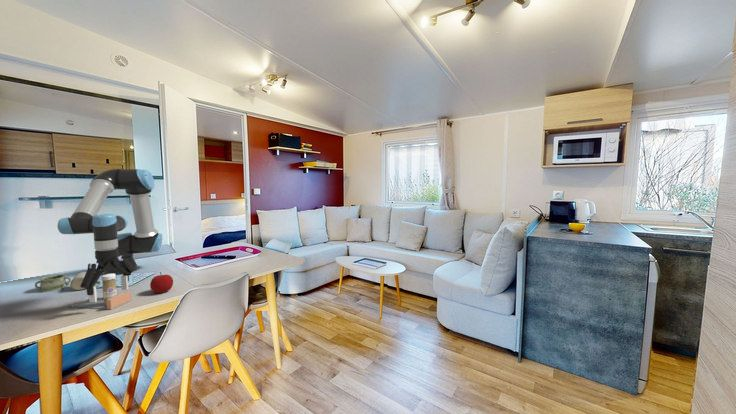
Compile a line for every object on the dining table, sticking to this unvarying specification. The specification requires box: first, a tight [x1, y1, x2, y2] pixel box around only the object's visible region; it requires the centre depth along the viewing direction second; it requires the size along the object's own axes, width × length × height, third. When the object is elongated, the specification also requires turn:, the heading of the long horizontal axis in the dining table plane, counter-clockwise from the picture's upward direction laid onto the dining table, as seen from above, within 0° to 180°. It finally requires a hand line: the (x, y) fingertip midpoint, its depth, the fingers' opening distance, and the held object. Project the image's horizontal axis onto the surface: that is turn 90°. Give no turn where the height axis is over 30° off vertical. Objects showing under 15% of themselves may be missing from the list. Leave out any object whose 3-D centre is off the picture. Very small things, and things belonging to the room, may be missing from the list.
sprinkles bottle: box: [101, 273, 118, 305], centre depth 121 cm, size 5×5×13 cm
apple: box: [149, 272, 174, 294], centre depth 136 cm, size 9×9×10 cm
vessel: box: [34, 274, 72, 293], centre depth 137 cm, size 12×9×6 cm
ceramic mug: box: [69, 271, 102, 291], centre depth 140 cm, size 11×8×8 cm
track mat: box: [70, 291, 132, 310], centre depth 121 cm, size 9×20×4 cm, turn 84°
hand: (110, 295), depth 121 cm, fingers open, 13 cm apart
